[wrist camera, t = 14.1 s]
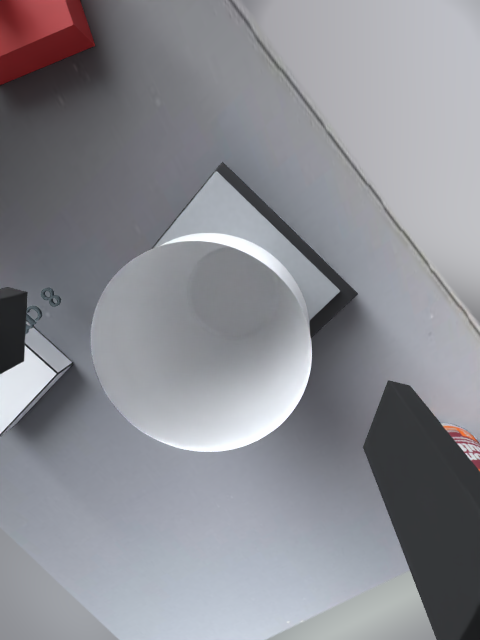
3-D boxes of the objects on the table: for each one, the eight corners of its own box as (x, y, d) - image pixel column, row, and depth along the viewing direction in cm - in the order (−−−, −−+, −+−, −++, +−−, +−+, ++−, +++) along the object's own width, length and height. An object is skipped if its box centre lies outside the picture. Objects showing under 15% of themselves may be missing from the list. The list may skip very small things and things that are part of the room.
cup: (161, 335, 27) (74, 423, 15) (184, 214, 24) (100, 207, 12) (277, 366, 26) (280, 479, 15) (313, 246, 24) (350, 271, 12)
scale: (349, 286, 28) (360, 295, 24) (246, 384, 31) (243, 405, 27) (227, 167, 26) (221, 159, 23) (132, 283, 29) (113, 292, 26)
